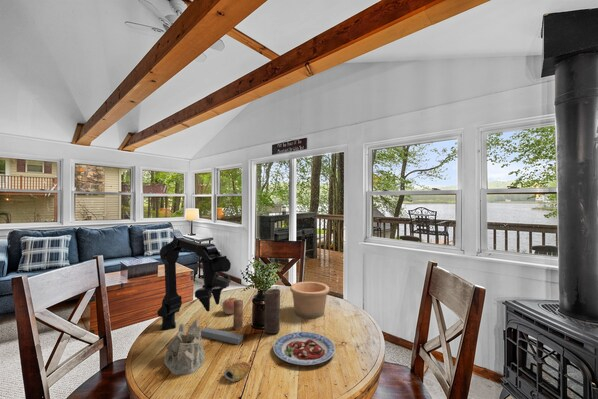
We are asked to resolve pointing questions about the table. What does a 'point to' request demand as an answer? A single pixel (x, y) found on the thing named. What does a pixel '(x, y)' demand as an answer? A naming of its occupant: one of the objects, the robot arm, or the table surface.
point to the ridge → (222, 335)
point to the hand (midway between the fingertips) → (213, 307)
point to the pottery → (309, 299)
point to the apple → (229, 305)
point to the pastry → (237, 371)
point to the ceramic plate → (304, 348)
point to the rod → (238, 315)
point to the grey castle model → (185, 351)
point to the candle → (272, 311)
